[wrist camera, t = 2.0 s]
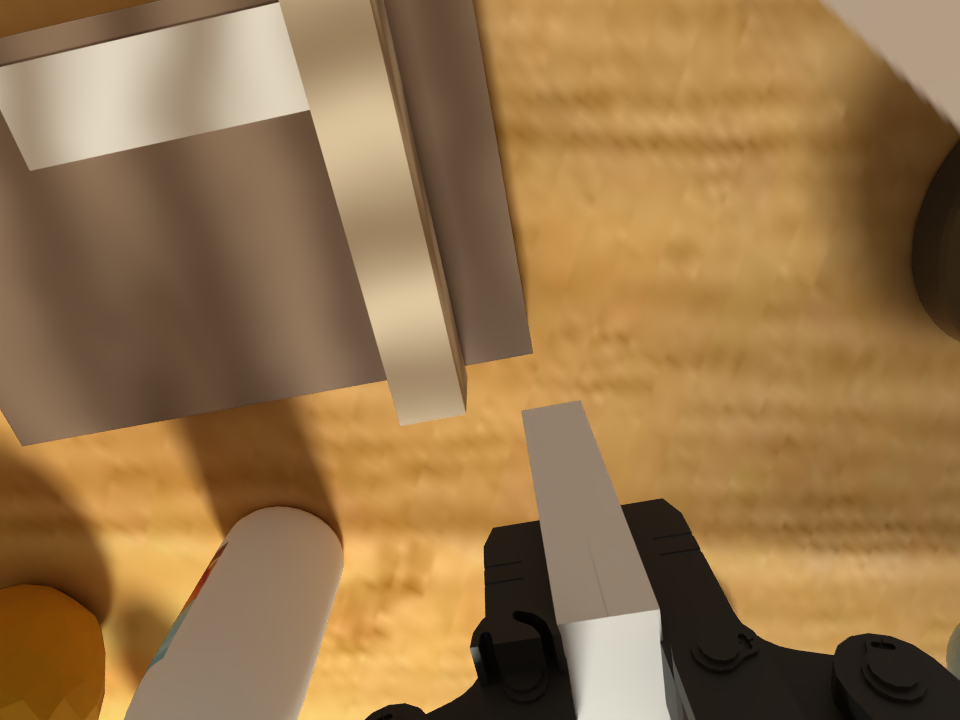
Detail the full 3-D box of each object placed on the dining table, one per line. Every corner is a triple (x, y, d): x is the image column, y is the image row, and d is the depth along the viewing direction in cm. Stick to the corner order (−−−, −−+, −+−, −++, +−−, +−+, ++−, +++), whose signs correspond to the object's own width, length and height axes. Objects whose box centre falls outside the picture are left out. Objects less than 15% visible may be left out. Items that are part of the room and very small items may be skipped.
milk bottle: (271, 480, 35) (47, 876, 17) (370, 546, 37) (266, 963, 19) (205, 553, 37) (-58, 973, 19) (301, 611, 39) (148, 1041, 21)
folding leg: (307, 9, 23) (275, -13, 19) (380, -8, 22) (362, -33, 19) (410, 387, 29) (400, 426, 25) (467, 377, 29) (466, 414, 25)
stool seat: (462, -50, 25) (460, -73, 22) (528, 332, 31) (533, 354, 29) (-124, 87, 26) (-196, 83, 24) (60, 419, 33) (20, 447, 31)
